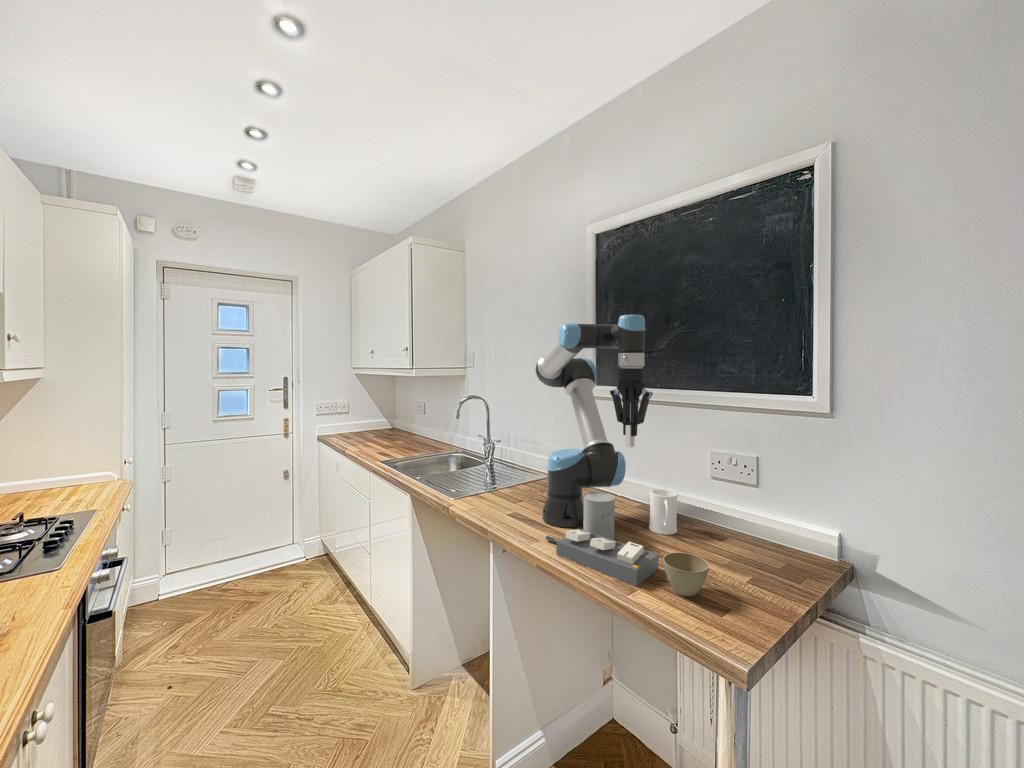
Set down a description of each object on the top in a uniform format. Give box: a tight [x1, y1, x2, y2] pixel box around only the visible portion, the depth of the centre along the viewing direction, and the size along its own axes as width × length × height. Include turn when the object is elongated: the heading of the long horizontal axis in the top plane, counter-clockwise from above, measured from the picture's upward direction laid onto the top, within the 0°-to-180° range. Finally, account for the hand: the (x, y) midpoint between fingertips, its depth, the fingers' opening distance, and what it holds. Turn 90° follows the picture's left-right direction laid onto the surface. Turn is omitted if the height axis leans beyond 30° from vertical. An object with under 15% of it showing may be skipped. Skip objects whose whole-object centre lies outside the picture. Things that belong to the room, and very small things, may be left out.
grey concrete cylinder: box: [582, 491, 616, 540], centre depth 134 cm, size 10×10×12 cm
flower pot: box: [662, 551, 710, 597], centre depth 102 cm, size 10×10×7 cm
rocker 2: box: [590, 538, 616, 550], centre depth 116 cm, size 4×6×2 cm, turn 137°
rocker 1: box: [564, 529, 590, 542], centre depth 121 cm, size 4×6×2 cm, turn 137°
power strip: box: [545, 529, 660, 588], centre depth 120 cm, size 33×12×4 cm, turn 47°
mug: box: [648, 488, 678, 536], centre depth 138 cm, size 12×8×12 cm
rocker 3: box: [617, 541, 645, 565], centre depth 110 cm, size 4×6×2 cm, turn 137°
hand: (629, 446), depth 130 cm, fingers closed
